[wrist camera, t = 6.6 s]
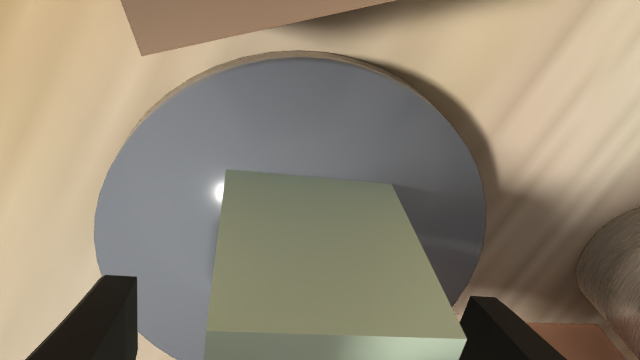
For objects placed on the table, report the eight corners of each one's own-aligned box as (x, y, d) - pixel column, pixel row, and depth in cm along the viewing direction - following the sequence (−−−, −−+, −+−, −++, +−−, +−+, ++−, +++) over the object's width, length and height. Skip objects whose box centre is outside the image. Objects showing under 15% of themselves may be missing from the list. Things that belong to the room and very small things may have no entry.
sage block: (359, 306, 14) (406, 487, 10) (215, 300, 13) (195, 493, 9) (391, 183, 12) (467, 339, 8) (226, 169, 11) (206, 331, 7)
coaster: (419, 362, 17) (427, 387, 16) (110, 353, 15) (101, 380, 14) (523, 81, 12) (544, 94, 11) (97, 19, 10) (82, 29, 10)
